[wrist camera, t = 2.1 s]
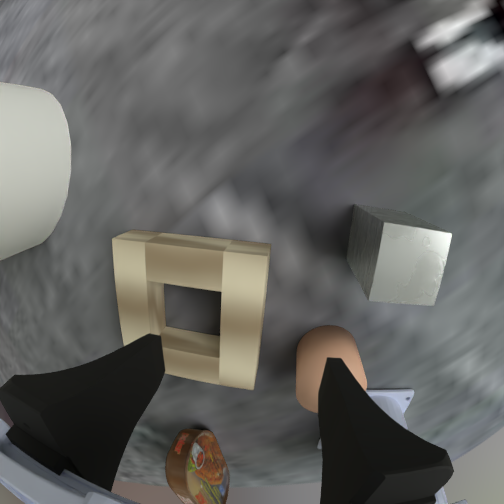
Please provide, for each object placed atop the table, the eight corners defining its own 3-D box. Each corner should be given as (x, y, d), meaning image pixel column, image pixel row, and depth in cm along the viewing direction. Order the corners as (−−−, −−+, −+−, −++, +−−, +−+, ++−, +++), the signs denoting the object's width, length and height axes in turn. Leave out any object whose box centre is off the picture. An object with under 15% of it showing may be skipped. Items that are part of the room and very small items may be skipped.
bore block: (257, 367, 24) (253, 390, 21) (141, 345, 25) (127, 362, 22) (271, 244, 21) (267, 256, 18) (132, 229, 22) (112, 238, 19)
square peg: (395, 264, 20) (433, 305, 13) (345, 259, 20) (368, 300, 14) (405, 212, 19) (451, 233, 12) (354, 204, 19) (384, 222, 13)
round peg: (347, 374, 23) (355, 414, 18) (292, 370, 24) (290, 411, 19) (362, 327, 22) (376, 364, 17) (301, 322, 22) (302, 360, 17)
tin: (233, 480, 31) (221, 528, 23) (211, 478, 31) (197, 524, 23) (207, 414, 27) (185, 477, 19) (180, 412, 27) (153, 470, 19)
